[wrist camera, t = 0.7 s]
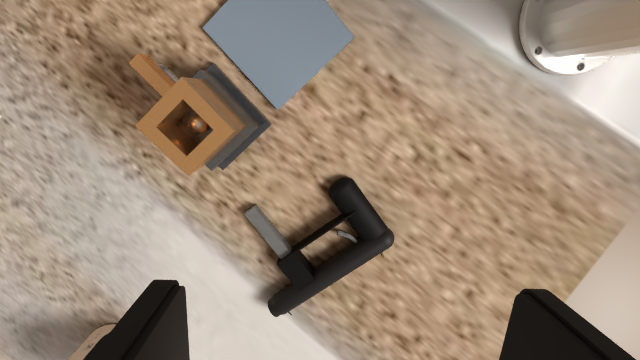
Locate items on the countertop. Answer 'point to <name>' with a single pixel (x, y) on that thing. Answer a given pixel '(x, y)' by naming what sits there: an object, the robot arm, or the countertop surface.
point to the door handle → (291, 258)
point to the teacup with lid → (91, 342)
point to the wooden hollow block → (175, 106)
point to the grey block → (237, 103)
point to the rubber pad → (278, 41)
